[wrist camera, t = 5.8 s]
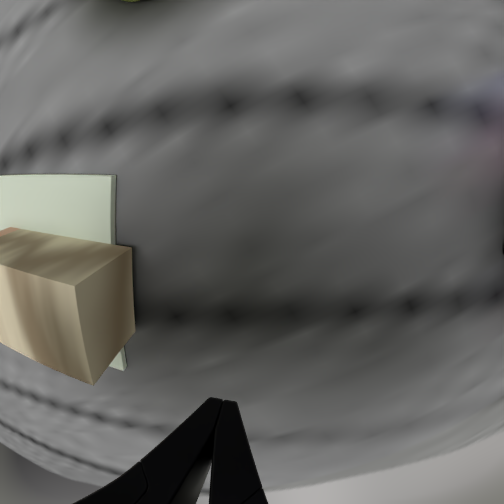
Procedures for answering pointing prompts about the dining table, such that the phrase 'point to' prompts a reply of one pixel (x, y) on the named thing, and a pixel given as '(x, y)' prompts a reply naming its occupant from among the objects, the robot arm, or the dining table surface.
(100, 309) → the birch block
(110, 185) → the sage mat
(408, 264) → the dining table surface
